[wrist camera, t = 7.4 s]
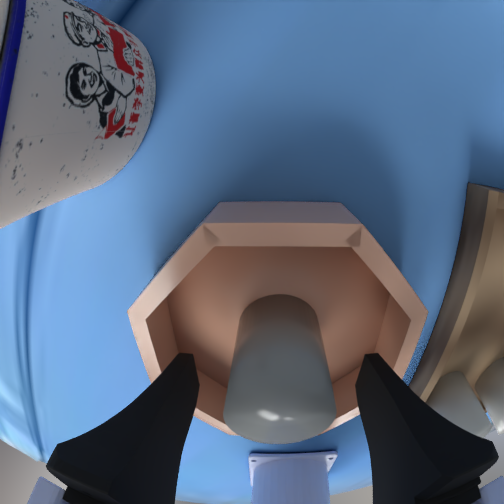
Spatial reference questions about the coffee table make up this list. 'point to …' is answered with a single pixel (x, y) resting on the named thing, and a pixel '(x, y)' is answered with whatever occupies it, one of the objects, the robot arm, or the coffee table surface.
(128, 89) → the teacup with lid
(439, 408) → the light stone
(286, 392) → the grey rounded cylinder
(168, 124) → the coffee table surface
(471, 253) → the tray
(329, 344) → the bowl
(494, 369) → the light stone
